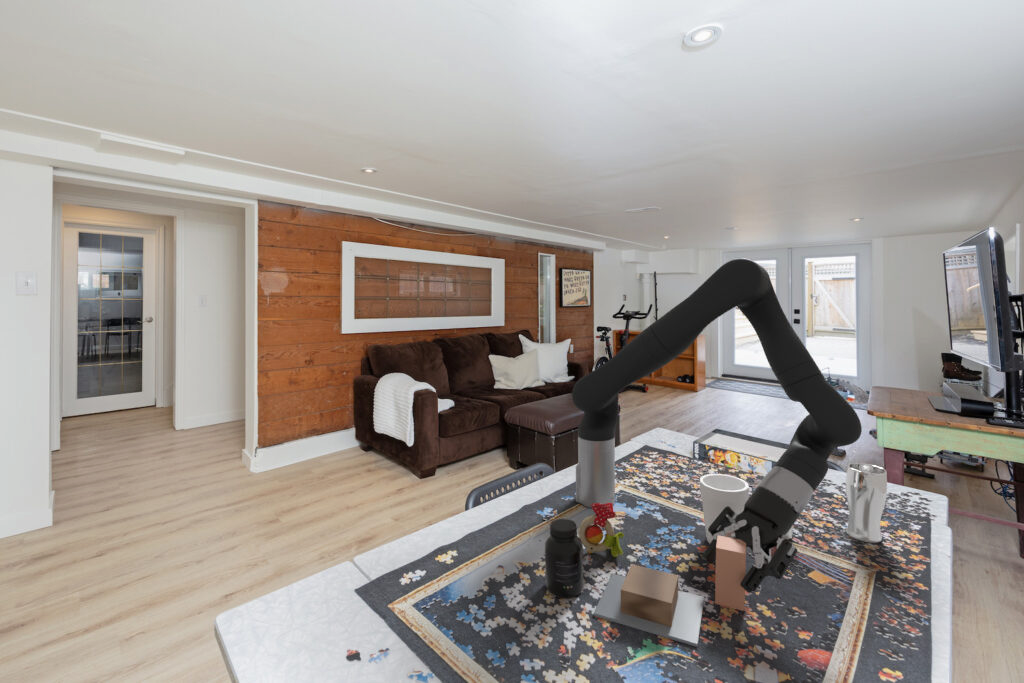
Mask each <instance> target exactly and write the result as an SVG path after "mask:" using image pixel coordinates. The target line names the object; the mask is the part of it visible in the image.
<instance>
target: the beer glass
mask: <svg viewBox="0 0 1024 683" xmlns="http://www.w3.org/2000/svg"><path fill="white" fill-rule="evenodd" d="M887 473H888V472H887V470H886V469H885V468H884V467H881V466H878V465H875V464H870V463H865V462H851V463H848V464H847V471H846V475H845V476H846V478H845V495H846V502H847V507H848V516H849V517H848V522H847V527H846V531H845V532H846V534H847V535H848V536H849V537H851V538H853V539H855V540H857V541H861V542H866V543H871V544H875V543H876V544H877V543H879V542H882V539H883V537H882V532H881V519H882V516H883V515H882V514H883V512H884V509H885V505H886V502H887V498H888V497H887V495H888V477H887V476H888V475H887Z"/></svg>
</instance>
